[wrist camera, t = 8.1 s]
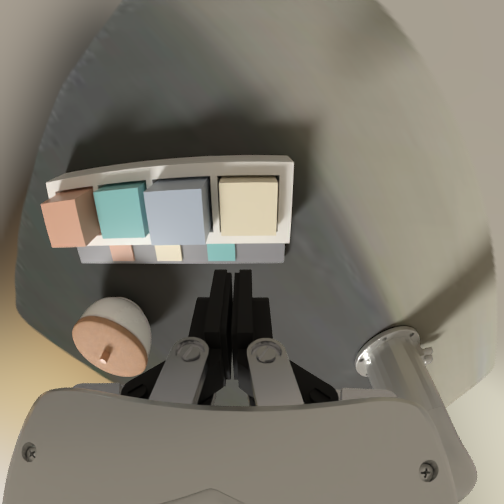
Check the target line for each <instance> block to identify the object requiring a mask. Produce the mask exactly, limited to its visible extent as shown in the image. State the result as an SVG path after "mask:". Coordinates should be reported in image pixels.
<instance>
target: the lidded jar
mask: <svg viewBox="0 0 504 504" xmlns="http://www.w3.org/2000/svg"><path fill="white" fill-rule="evenodd" d="M72 335H73V340H74V343H75V345H76V347H77V348H78V350H79V351H80V353H81V354H82V355H83V356H84V357H85V358H86V359H87V360H88V361H90V362H91V363H92V364H94V365H95V366H96V367H98V368H100V369H102V370H104V371H106V372H108V373H111V374H114V375H118V376H125V377H131V376H136V375H139V374H140V373H142V372H143V371H144V370H145V368H146V365H147V361H148V356H149V352H150V347H151V329H150V325H149V322H148V320H147V318H146V316H145V315H144V313H143V311H142V310H141V308H140V307H139V306H138V305H137V304H136V303H134V302H133V301H131V300H129V299H127V298H124V297H107V298H103V299H100V300H98V301H96V302H95V303H93V304H92V305H91V306H90V307H89V308H88V309H87V310H86V311H85V312H84V314H83V315H82V316H81V318H80V319H79V320H78V321H77V323H76V324H75V326H74V327H73V331H72Z"/></svg>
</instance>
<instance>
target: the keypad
mask: <svg viewBox="0 0 504 504" xmlns="http://www.w3.org/2000/svg"><path fill="white" fill-rule="evenodd" d="M293 172H294V162H293V161H292V160H291V159H290V158H289V157H288V156H287V155H224V156H200V157H184V158H171V159H159V160H149V161H140V162H132V163H124V164H117V165H110V166H103V167H97V168H91V169H85V170H80V171H74V172H69V173H65V174H63V175H61V176H58V177H56V178H54V179H52V180H50V181H48V182H46V186H47V191H48V196H49V199H50V198H52V197H53V196H55V195H57V194H58V193H60V192H62V191H64V190H69V189H75V188H82V187H89V186H93V191H94V192H95V191H96V190H98V189H99V188H101V187H103V186H104V185H106V184H112V183H121V182H130V181H140V180H146V186H147V189H148V188H149V187H150V186H151V185H153V184H154V183H155V182H156V181H158V180H159V179H164V178H179V177H198V176H210V182H211V201H212V225H211V228H210V231H209V235H208V238H207V241H206V245H152V244H151V239H150V233H148V235H147V236H146V237H145V238H111V239H103V237H102V233H101V232H100V233H99V234H98V235H97V236H96V237H95V238H94V239H93V240H92V241H91V242H90V243H89V244H88V245H87V246H86V247H77V249H78V253H79V256H80V259H81V262H82V263H143V264H207V263H284V251H285V243H290V229H291V213H292V194H293ZM225 175H275V177H276V179H277V182H278V195H277V224H276V236H221V217H220V196H219V182H220V179H221V177H222V176H225Z"/></svg>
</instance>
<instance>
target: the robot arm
mask: <svg viewBox="0 0 504 504" xmlns="http://www.w3.org/2000/svg"><path fill="white" fill-rule="evenodd" d="M419 344H420V336H419V334H418V333H417V331H416V330H415V329H414V328H412V327H408V326H400V327H395V328H391V329H389V330H386V331H384V332H382V333H380V334H378V335H377V336H375V337H374V338H372V339H371V340H370V341H368V342H367V343H366V344H365V345H364V346H363V347H362V348H361V350H360V351H359V352H358V354H357V356H356V359H355V367H356V369H357V372H358V373H359V374H361V375H362V376H366V377H369V380H370V383H371V385H372V388H373V389H355V388H342V390H335V389H334V388H333V387H332V386H331V385H329V384H327V383H326V382H324V381H322V380H321V379H319V378H317V377H316V376H314V375H313V374H311V373H309V372H308V371H306V370H305V369H303V368H301V367H300V366H298V365H297V364H295V363H293V362H292V361H290V360H289V358H288V355H287V352H286V349H285V348H284V346H283V344H281V343H280V342H279V341H277V340H275V339H273V336H272V326H271V316H270V307H269V298H252V271H251V270H240V273H235V280H234V295H233V297H232V274H231V273H227V270H215V271H214V276H213V282H212V287H211V292H210V297H198V298H197V301H196V305H195V310H194V314H193V318H192V323H191V327H190V332H189V336H188V337H186V338H183V339H180V340H178V341H177V342H176V343H175V344H174V345H173V347H172V348H171V351H170V353H169V355H168V357H167V359H166V360H165V361H164V362H162V363H160V364H159V365H157V366H155V367H153V368H152V369H150V370H148V371H146V372H145V373H143V374H141V375H139V376H138V377H136V378H134V379H132V380H130V381H129V382H128V383H126V384H125V385H121V384H120V383H90V384H89V383H82V384H77V385H75V386H74V387H73V388H58V389H53V390H49V391H46V392H44V393H43V394H41V395H40V396H39V397H38V399H37V400H36V401H35V402H34V404H33V406H32V407H31V409H30V411H29V413H28V415H27V417H26V419H25V421H24V424H23V426H22V429H21V431H20V434H19V436H18V439H17V442H16V445H15V449H14V452H13V455H12V459H11V462H10V466H9V470H8V474H7V479H6V484H5V490H4V496H3V503H2V504H458V502H460V501H461V500H462V499H464V498H465V497H466V496H467V495H468V494H469V493H470V492H471V490H472V489H473V488H474V486H475V483H476V480H477V471H476V467H475V465H474V463H473V461H472V459H471V457H470V456H469V454H468V452H467V450H466V449H465V447H464V445H463V444H462V442H461V440H460V438H459V436H458V434H457V432H456V430H455V428H454V426H453V423H452V421H451V419H450V417H449V415H448V413H447V410H446V408H445V406H444V403H443V401H442V399H441V397H440V395H439V392H438V390H437V388H436V386H435V384H434V382H433V380H432V378H431V376H430V374H429V372H428V370H427V368H426V366H425V365H426V364H429V363H431V362H432V360H433V357H432V355H431V354H432V352H433V349H432V348H431V347H428V348H425V349H422V348H421V347H420V345H419ZM232 354H233V368H234V380H238V381H239V388H240V389H242V390H243V391H244V392H245V393H247V398H248V403H249V406H214V403H215V399H216V392H217V391H218V390H220V389H221V388H223V386H226V379H231V360H232Z"/></svg>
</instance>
